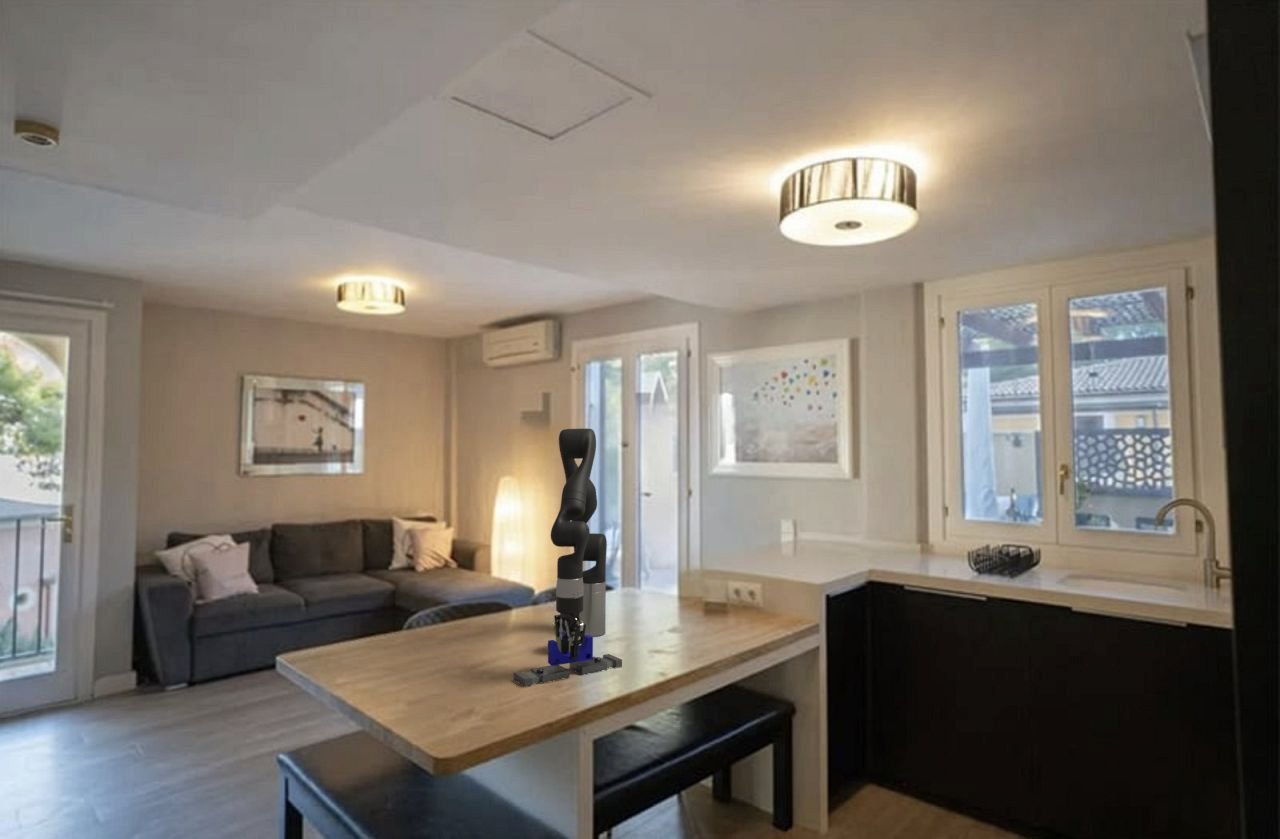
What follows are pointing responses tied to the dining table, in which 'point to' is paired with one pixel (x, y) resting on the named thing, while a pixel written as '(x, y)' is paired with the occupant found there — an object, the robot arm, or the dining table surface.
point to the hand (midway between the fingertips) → (569, 656)
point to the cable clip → (558, 658)
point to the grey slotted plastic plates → (566, 670)
